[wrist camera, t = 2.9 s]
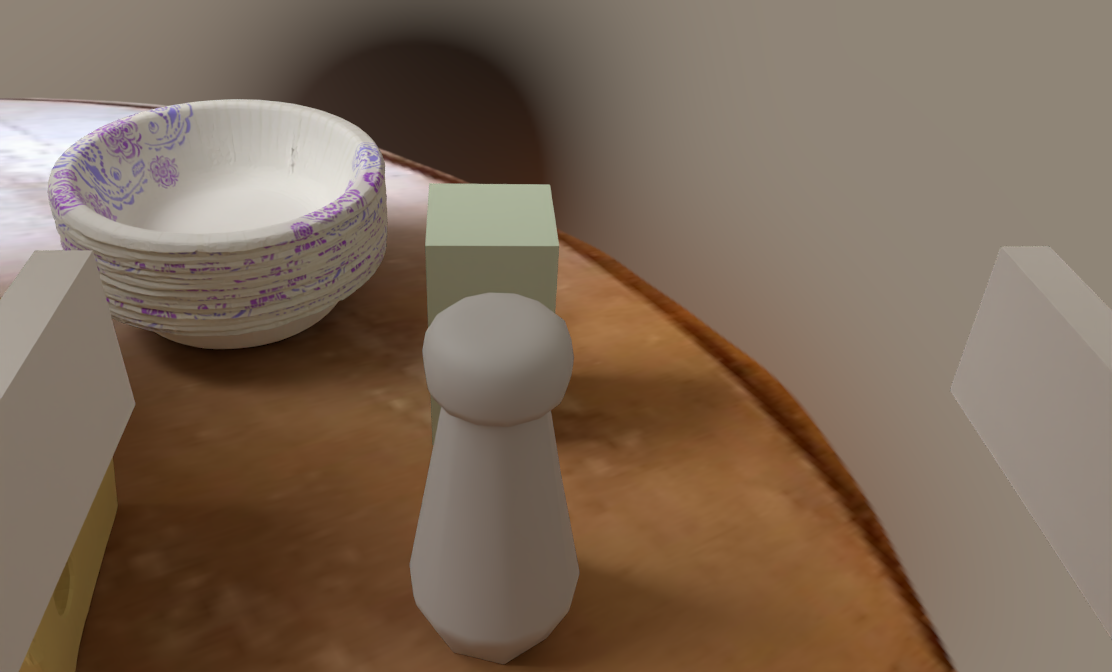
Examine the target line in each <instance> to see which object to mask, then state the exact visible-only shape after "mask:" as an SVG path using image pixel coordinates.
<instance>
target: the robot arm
mask: <svg viewBox="0 0 1112 672" xmlns="http://www.w3.org/2000/svg"><path fill="white" fill-rule="evenodd" d="M950 391H951V393H952V394H953V396H954V397H955V399H956V401H957V402H958V403H959V405H960V407H961V408H962V409H963V411H964V413H965V414H966V416H967V417H968V419H969V420H970V422H971V423H972V425H973V427H974V428H975V429H976V431H977V433H978V434H979V436H980V437H981V439H982V440H983V442H984V444H985V445H986V447H987V448H988V450H989V451H990V453H991V454H992V456H993V457H994V459H995V461H996V462H997V464H998V465H999V467H1000V468H1001V470H1002V471H1003V473H1004V474H1005V476H1006V478H1007V479H1008V481H1009V482H1010V484H1011V485H1012V487H1013V488H1014V490H1015V491H1016V493H1017V494H1018V496H1019V498H1020V499H1021V501H1022V502H1023V504H1024V505H1025V507H1026V508H1027V510H1028V511H1029V513H1030V515H1031V516H1032V518H1033V519H1034V521H1035V522H1036V524H1037V525H1038V527H1039V528H1040V530H1041V531H1042V533H1043V534H1044V536H1045V538H1046V539H1047V541H1048V542H1049V544H1050V545H1051V547H1052V548H1053V550H1054V551H1055V553H1056V555H1057V556H1058V558H1059V559H1060V561H1061V562H1062V564H1063V565H1064V567H1065V568H1066V570H1067V572H1068V573H1069V575H1070V576H1071V578H1072V579H1073V581H1074V582H1075V584H1076V585H1077V587H1078V588H1079V590H1080V591H1081V593H1082V595H1083V596H1084V598H1085V599H1086V601H1087V602H1088V604H1089V605H1090V607H1091V608H1092V610H1093V612H1094V613H1095V615H1096V616H1097V618H1098V619H1099V621H1100V622H1101V624H1102V625H1103V627H1104V628H1105V630H1106V632H1107V633H1108V635H1109V636H1110V638H1111V639H1112V310H1111V309H1110V308H1109V307H1108V306H1107V305H1106V304H1105V303H1104V302H1103V301H1102V300H1101V299H1100V298H1099V297H1098V296H1097V295H1096V294H1095V293H1094V292H1093V291H1092V290H1091V289H1090V288H1089V287H1088V286H1087V284H1086V283H1085V282H1084V281H1083V280H1082V279H1081V278H1080V277H1079V276H1078V275H1077V274H1076V273H1075V272H1074V271H1073V270H1072V269H1071V268H1070V267H1069V266H1068V265H1067V264H1066V263H1065V262H1064V261H1063V260H1062V259H1061V258H1060V257H1059V256H1058V255H1057V254H1056V253H1055V252H1054V251H1053V249H1052V248H1051V247H1050V246H1039V247H1038V246H1035V247H1033V246H1025V247H1023V246H1022V247H1021V246H1018V247H1001V248H1000V250H999V253H998V256H997V259H996V262H995V264H994V267H993V270H992V273H991V275H990V278H989V281H988V284H987V287H986V290H985V292H984V295H983V298H982V301H981V304H980V307H979V309H978V312H977V315H976V318H975V320H974V323H973V326H972V329H971V332H970V335H969V338H968V340H967V343H966V346H965V349H964V351H963V354H962V357H961V360H960V363H959V366H958V368H957V371H956V374H955V377H954V380H953V382H952V385H951V388H950ZM134 407H135V401H134V397H133V393H132V390H131V386H130V383H129V379H128V375H127V372H126V368H125V365H124V361H123V357H122V354H121V350H120V347H119V343H118V340H117V336H116V332H115V329H114V325H113V322H112V318H111V314H110V311H109V307H108V304H107V300H106V296H105V293H104V289H103V286H102V282H101V278H100V275H99V271H98V268H97V264H96V260H95V257H94V253H93V250H69V251H34V253H33V254H32V256H31V257H30V258H29V260H28V261H27V263H26V264H25V265H24V267H23V268H22V270H21V271H20V272H19V274H18V275H17V277H16V278H15V279H14V281H13V282H12V284H11V285H10V286H9V288H8V289H7V291H6V292H5V293H4V295H3V296H2V298H1V299H0V672H19V670H20V668H21V665H22V663H23V661H24V658H25V656H26V654H27V652H28V649H29V647H30V645H31V642H32V640H33V638H34V635H35V633H36V631H37V629H38V626H39V624H40V622H41V619H42V617H43V615H44V613H45V610H46V608H47V606H48V603H49V601H50V599H51V597H52V594H53V592H54V590H55V587H56V585H57V583H58V581H59V578H60V576H61V574H62V571H63V569H64V567H65V565H66V562H67V560H68V558H69V555H70V553H71V551H72V548H73V546H74V544H75V542H76V539H77V537H78V535H79V532H80V530H81V528H82V526H83V523H84V521H85V519H86V516H87V514H88V512H89V510H90V507H91V505H92V503H93V500H94V498H95V496H96V494H97V491H98V489H99V487H100V484H101V482H102V480H103V477H104V475H105V473H106V471H107V468H108V466H109V464H110V461H111V459H112V457H113V455H114V452H115V450H116V448H117V445H118V443H119V441H120V439H121V436H122V434H123V432H124V429H125V427H126V425H127V423H128V420H129V418H130V416H131V413H132V411H133V409H134Z"/></svg>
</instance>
